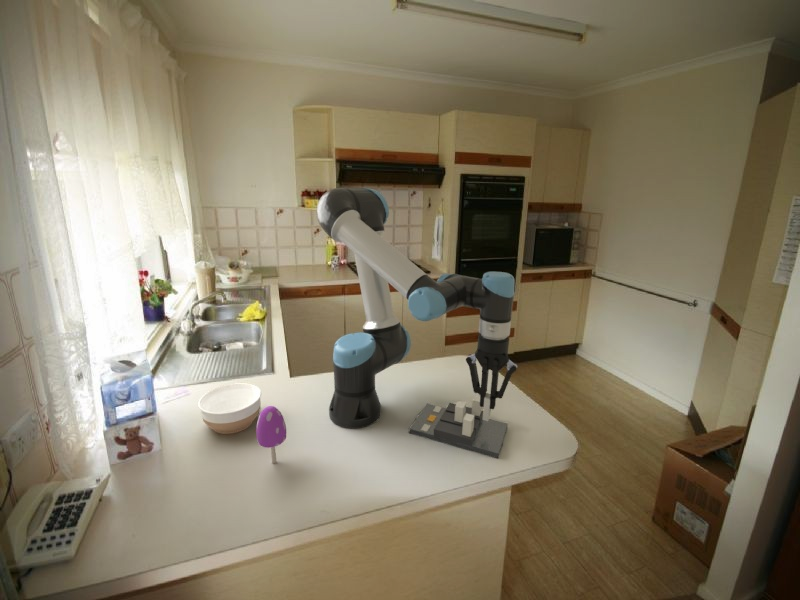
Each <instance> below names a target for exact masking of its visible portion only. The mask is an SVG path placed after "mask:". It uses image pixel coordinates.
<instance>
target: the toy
mask: <svg viewBox="0 0 800 600" xmlns="http://www.w3.org/2000/svg"><path fill="white" fill-rule="evenodd" d="M259 413H260V414H259V416H258V418H257V423H256V428H255V429H256V432H255V433H256V440H257V441H256V442H257V443H258V445H259V446H261V447H263V448H267V449H269V448H270V455H271V458H270V459H271V464H277V462H278V461H277V454H276V453H277V452H276V447H277V446H279V445H281V444H282V443H284V441H286V439H287V426H286V422H285V418H284V416H283V414H282V412H281V411H280V410H279V409H278V408H277V407H276V406H273V405H269V406H266V407H264V408H263V409H262V410H261V412H259Z"/></svg>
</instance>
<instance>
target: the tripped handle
mask: <svg viewBox="0 0 800 600" xmlns="http://www.w3.org/2000/svg"><path fill="white" fill-rule="evenodd" d="M455 404H456V406H455V418H454V421H457V422H461V423H462V422H463V419H464V417H465V412H466V407H467V402H466V401H465V402H464V401H462V400H461V401H460V400H457V402H456V403H455Z"/></svg>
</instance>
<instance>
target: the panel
mask: <svg viewBox="0 0 800 600" xmlns="http://www.w3.org/2000/svg"><path fill="white" fill-rule="evenodd" d="M446 408H447V407H443V406H439V405H435V404H431V403H426V404H425V405H424V407H423V408H422V410H421V411H420V413H419V414H417V416H416V418H415V420H414V421H412V422H413V423H412V424H411V425H410V427H409V428H408V433H409V434H412V435H414V436H418V437H421V438H424V439H428V440H431V441H434V442H438V443H442V444H445V445H448V446H453V447H456V448H459V449H462V450H467V451H469V452H474V453H477V454H481V455H484V456H487V457H490V458H495V459H499V457H500V454H501V451H502V447H503V443H504V440H505V437H506V434H507V430H508V425H509V424H508V422H503V421H500V420H497V419H493V418H492V419H491V418H489V420H488V421H485V420H481V423H480V425H479V428H478V430H477V432H476V435H475V437H474V440H473V442H472V444H471V446H469V445H465V444H462V443H458V442H455V441H451V440H448V439H444V438H441V437H437V436H434V428H435V426H436V425H437V423H438V421H440V418H441V416H442V415H443V413H444V411H445V410H446ZM482 419H483V418H482Z"/></svg>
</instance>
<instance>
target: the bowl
mask: <svg viewBox="0 0 800 600" xmlns="http://www.w3.org/2000/svg"><path fill="white" fill-rule="evenodd" d="M261 398H262V391H261V389H260V388H259V387H258V386H256V385H254V384H251V383H245V382H244V383H243V382H241V383H240V382H237V383H230V384H225V385H221V386H218V387H215V388H213V389H211V390H209V391H207V392H206V393H204V394H203V395H202V396H201V397H200V399H199V400H198V403H197V404H198V405H197V406H198V408H199V410H200V415H201V416H200V417H201V418H202V420H203V421H202V422H204V424H205V425H207V427H209V428H210V429H212V430H213V431H214V432H215V433H218V434H222V435H223V434H224V435H226V434H227V435H228V434H234V433H238V432H239V433H240V432H241V431H243V430H245V429H248V428H249V427H250V426H251V425H252V424H253V422H254V420H255V419H256V418H257V416H258V414H259V413H260V411H261V405H262V401H261Z"/></svg>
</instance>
